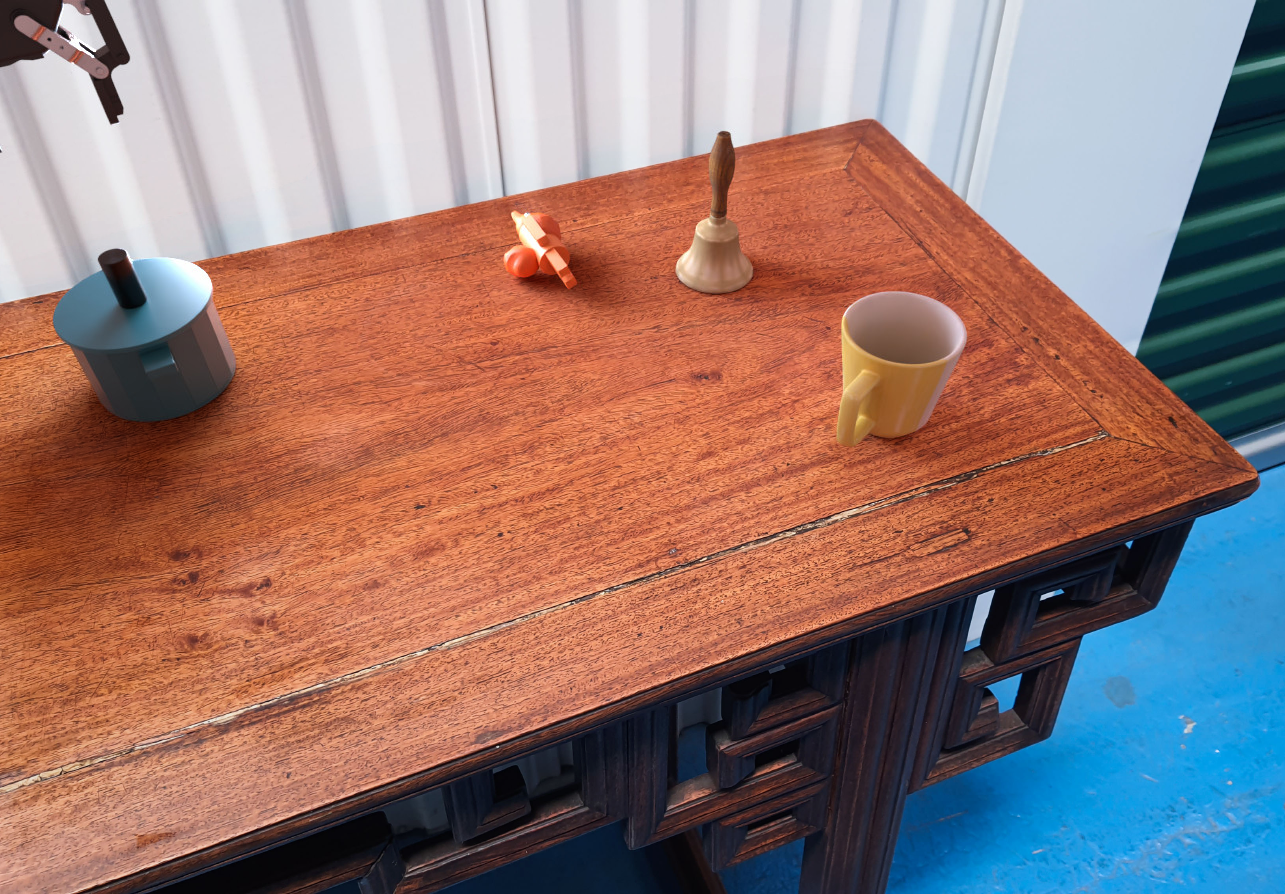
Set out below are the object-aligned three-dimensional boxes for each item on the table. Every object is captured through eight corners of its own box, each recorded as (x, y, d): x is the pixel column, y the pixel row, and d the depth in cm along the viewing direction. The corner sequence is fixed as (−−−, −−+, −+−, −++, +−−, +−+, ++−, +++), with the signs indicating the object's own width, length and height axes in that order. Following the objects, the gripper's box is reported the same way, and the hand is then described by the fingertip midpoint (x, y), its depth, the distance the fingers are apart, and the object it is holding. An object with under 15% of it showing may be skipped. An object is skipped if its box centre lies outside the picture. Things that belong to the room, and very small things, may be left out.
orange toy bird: (581, 246, 99) (536, 189, 107) (518, 285, 99) (477, 225, 107) (598, 280, 103) (553, 223, 111) (537, 318, 103) (496, 258, 110)
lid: (71, 379, 83) (39, 323, 79) (47, 296, 91) (17, 241, 87) (232, 326, 88) (210, 271, 83) (195, 252, 96) (174, 198, 92)
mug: (877, 364, 95) (896, 274, 88) (964, 420, 90) (992, 329, 82) (777, 430, 89) (788, 339, 82) (864, 494, 84) (885, 403, 76)
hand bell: (755, 251, 109) (767, 114, 97) (750, 297, 103) (762, 157, 91) (680, 245, 109) (683, 109, 98) (670, 291, 104) (673, 151, 92)
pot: (119, 458, 87) (79, 387, 81) (84, 347, 98) (46, 277, 92) (259, 408, 92) (231, 336, 86) (211, 307, 103) (183, 237, 96)
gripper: (56, -126, 70) (140, 93, 82) (-176, -89, 65) (-50, 138, 77) (73, -96, 66) (160, 131, 77) (-174, -54, 61) (-41, 182, 72)
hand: (55, 134), depth 77 cm, fingers open, 8 cm apart
